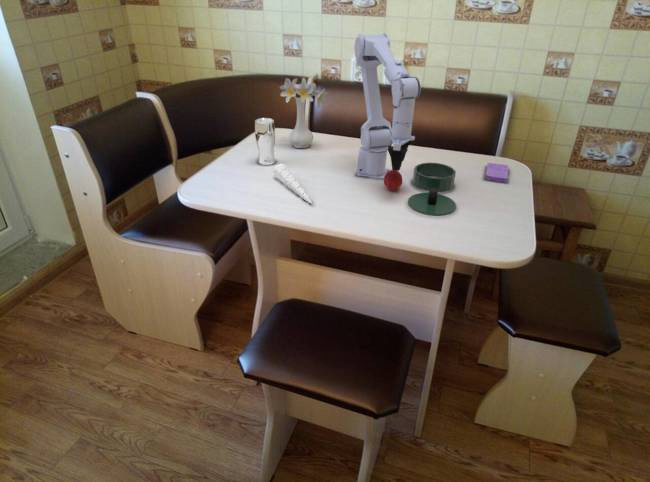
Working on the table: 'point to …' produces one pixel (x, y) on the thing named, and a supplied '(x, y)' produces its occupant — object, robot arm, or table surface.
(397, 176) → the onion
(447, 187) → the pot
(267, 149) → the beer glass
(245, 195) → the table surface
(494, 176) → the sponge
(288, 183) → the unicorn horn
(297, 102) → the flower vase
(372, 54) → the robot arm
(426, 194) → the lid
